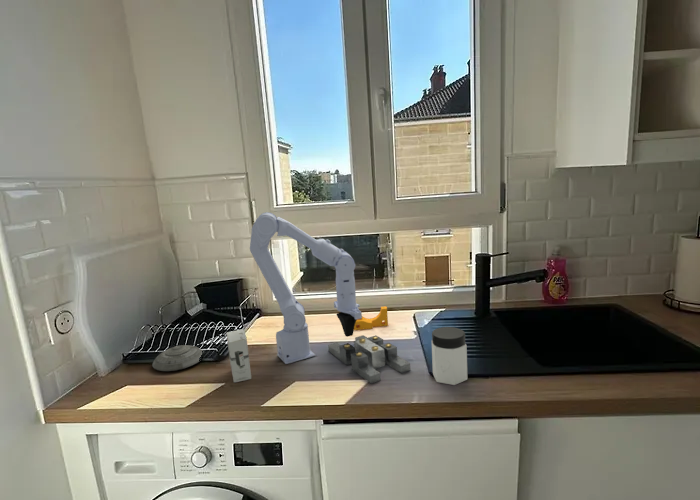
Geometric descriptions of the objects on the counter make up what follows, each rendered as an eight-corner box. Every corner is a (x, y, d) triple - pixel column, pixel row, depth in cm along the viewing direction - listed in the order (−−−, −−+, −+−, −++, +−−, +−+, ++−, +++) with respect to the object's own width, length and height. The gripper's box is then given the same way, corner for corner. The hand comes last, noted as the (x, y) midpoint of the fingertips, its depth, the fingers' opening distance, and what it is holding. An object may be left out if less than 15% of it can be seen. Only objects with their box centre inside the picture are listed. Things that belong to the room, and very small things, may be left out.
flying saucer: (207, 350, 137) (205, 334, 136) (202, 370, 122) (199, 352, 121) (159, 357, 134) (156, 341, 133) (147, 378, 119) (144, 360, 118)
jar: (427, 381, 106) (425, 336, 103) (437, 367, 112) (436, 325, 110) (463, 387, 101) (461, 341, 99) (471, 373, 108) (470, 329, 106)
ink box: (230, 370, 120) (225, 331, 118) (247, 366, 122) (243, 328, 120) (233, 383, 112) (228, 342, 110) (252, 379, 114) (247, 338, 112)
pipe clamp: (353, 330, 144) (352, 312, 143) (353, 326, 148) (352, 308, 147) (388, 328, 144) (387, 310, 143) (387, 323, 148) (386, 306, 147)
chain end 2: (370, 383, 106) (369, 365, 105) (351, 369, 115) (350, 352, 114) (410, 370, 112) (409, 352, 111) (389, 357, 121) (388, 341, 120)
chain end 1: (346, 365, 118) (345, 348, 117) (328, 351, 128) (327, 336, 127) (384, 353, 123) (383, 338, 123) (363, 341, 134) (362, 326, 133)
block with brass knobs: (372, 369, 114) (371, 350, 113) (355, 357, 123) (353, 339, 122) (385, 365, 116) (384, 347, 115) (366, 353, 125) (365, 336, 124)
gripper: (369, 295, 121) (372, 339, 123) (346, 285, 134) (349, 325, 136) (348, 300, 118) (351, 345, 120) (326, 289, 131) (329, 330, 133)
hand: (348, 335), depth 128 cm, fingers closed
